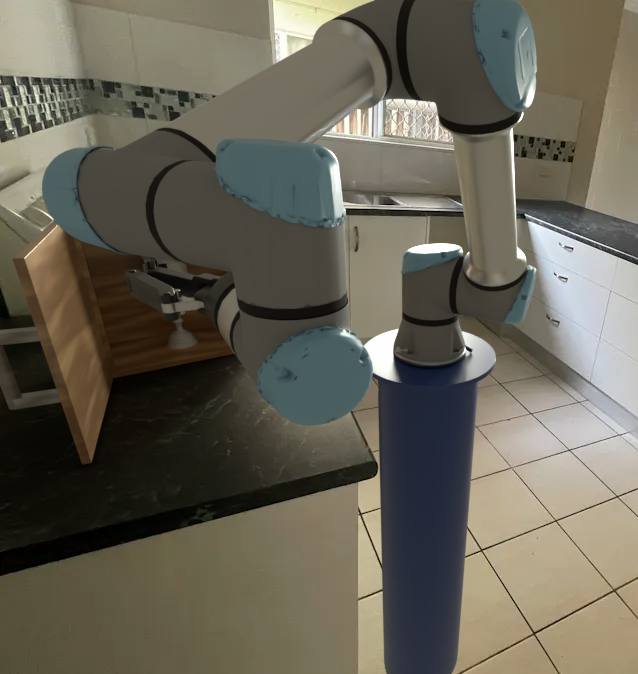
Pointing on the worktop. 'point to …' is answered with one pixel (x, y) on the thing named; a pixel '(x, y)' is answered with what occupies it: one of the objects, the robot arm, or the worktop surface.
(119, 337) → the cabinet
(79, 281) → the cabinet door
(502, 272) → the robot arm
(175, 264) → the chalice
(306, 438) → the worktop surface
